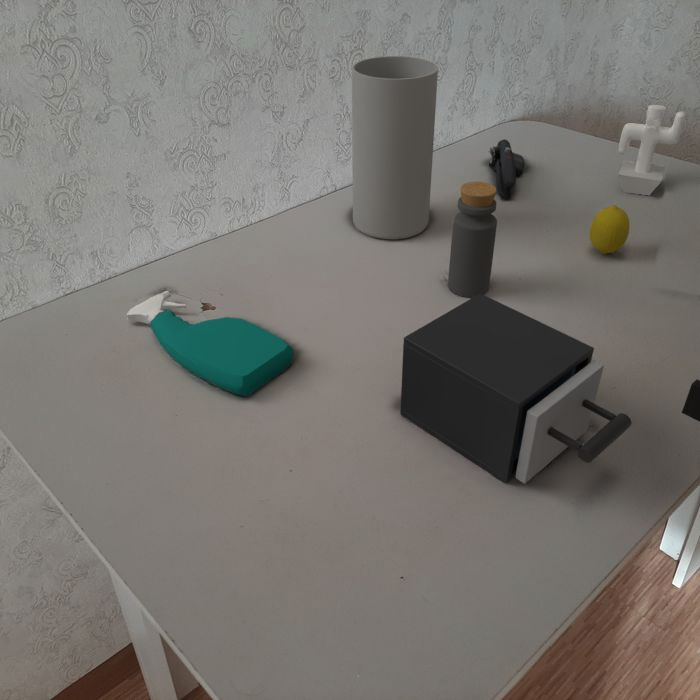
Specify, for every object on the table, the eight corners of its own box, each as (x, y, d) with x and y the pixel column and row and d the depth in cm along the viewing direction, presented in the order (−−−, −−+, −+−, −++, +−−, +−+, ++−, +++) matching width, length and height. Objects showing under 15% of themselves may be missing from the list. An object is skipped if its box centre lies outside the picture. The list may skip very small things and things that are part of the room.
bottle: (439, 282, 103) (447, 184, 94) (473, 273, 105) (483, 176, 97) (462, 301, 99) (473, 201, 90) (497, 291, 101) (510, 192, 92)
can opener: (486, 162, 140) (489, 134, 136) (523, 164, 139) (527, 136, 136) (484, 200, 126) (488, 170, 122) (525, 203, 125) (529, 172, 121)
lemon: (584, 259, 108) (594, 211, 104) (586, 243, 113) (596, 195, 108) (622, 265, 107) (634, 216, 102) (623, 248, 111) (635, 200, 106)
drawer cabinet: (575, 425, 78) (594, 347, 72) (505, 484, 72) (519, 403, 65) (471, 367, 87) (480, 292, 81) (400, 414, 80) (403, 337, 74)
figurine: (612, 178, 133) (630, 96, 124) (666, 186, 130) (688, 102, 121) (607, 193, 128) (625, 108, 119) (663, 201, 125) (686, 115, 116)
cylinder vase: (411, 247, 112) (419, 83, 97) (340, 232, 116) (337, 73, 102) (438, 215, 121) (449, 61, 106) (371, 202, 125) (373, 52, 111)
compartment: (630, 453, 74) (651, 387, 68) (568, 512, 67) (586, 444, 62) (487, 373, 85) (495, 311, 79) (422, 418, 78) (427, 353, 73)
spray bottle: (238, 405, 82) (110, 331, 94) (303, 360, 88) (175, 297, 101) (235, 385, 80) (105, 312, 93) (301, 341, 87) (171, 279, 100)
